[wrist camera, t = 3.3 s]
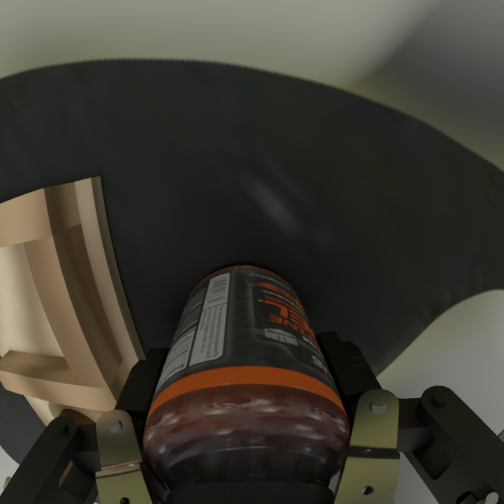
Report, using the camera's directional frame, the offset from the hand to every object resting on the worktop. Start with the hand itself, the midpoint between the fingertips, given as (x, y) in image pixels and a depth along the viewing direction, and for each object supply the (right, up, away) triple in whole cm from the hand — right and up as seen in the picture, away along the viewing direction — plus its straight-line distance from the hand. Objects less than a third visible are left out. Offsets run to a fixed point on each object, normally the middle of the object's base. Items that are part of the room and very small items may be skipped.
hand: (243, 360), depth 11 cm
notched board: (-13, -2, +4) cm, 14 cm away
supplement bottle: (0, +1, +4) cm, 4 cm away
